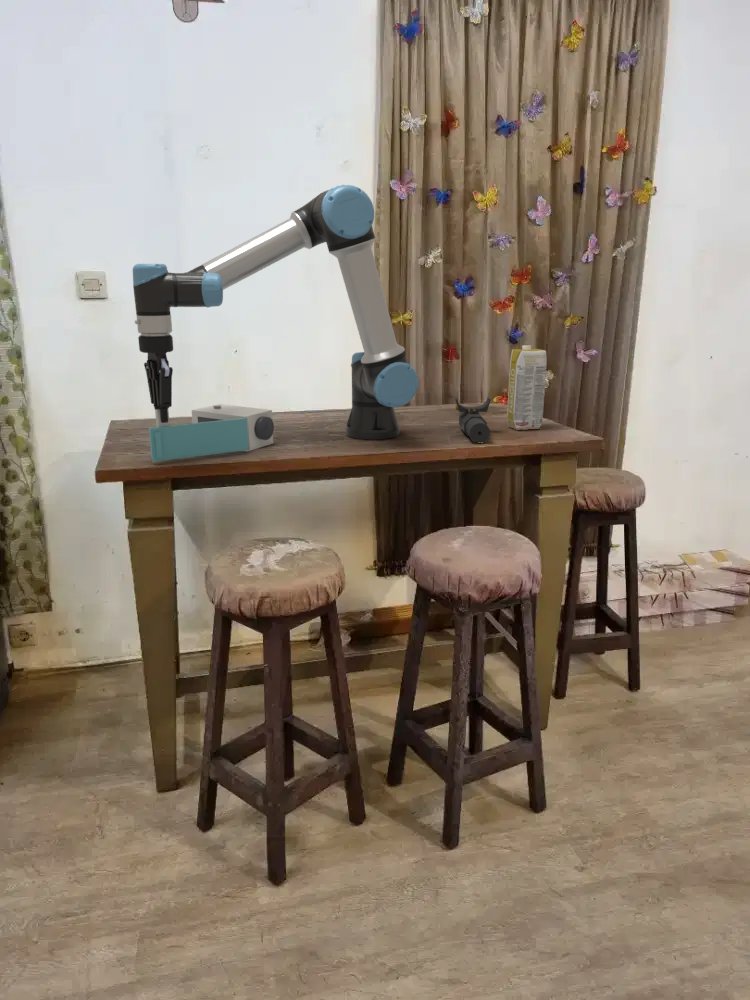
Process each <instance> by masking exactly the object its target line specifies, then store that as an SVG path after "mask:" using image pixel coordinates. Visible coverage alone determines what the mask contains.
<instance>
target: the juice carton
mask: <svg viewBox="0 0 750 1000" xmlns="http://www.w3.org/2000/svg"><path fill="white" fill-rule="evenodd" d="M521 347H522V349H519V348H516V349H515V348H512V350H511V355H510V359H509V360H510V361H509V375H508V377H509V378H508V379H509V380H508V392H507V393H508V394H507V395H508V397H507V412H506V413H507V414H506V416H507V417H506V419H507V426H508V425H510V426H513V427H515V428H526V427H540V426H541V427H542V423H543V417H544V406H545V405H544V404H545V403H544V402H545V391H546V389H545V388H546V377H547V364H548V363H547V351H546V350H545V349H540V348H532V344H529V345H528V344H527V345H525V344H524V345H522V346H521Z"/></svg>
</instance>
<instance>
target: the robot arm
mask: <svg viewBox="0 0 750 1000" xmlns="http://www.w3.org/2000/svg"><path fill="white" fill-rule="evenodd" d="M374 218H375V207H374V205H373V201H372V200H371V198H370V197H369V195H368V194H367V192H365V191H364V190H363V189H361V188H360V187H358V186H355V185H350V184H341V185H336V186H334V187H332V188H330V189H328V190H324V191H322V192H320V193H319V194H318V195H316V196H314V197H313V198H312V199H311V200H310V201H308V202H307V203H305V204H304V205H303V206H301V207H300V208H298V209H295V210H294V211H292V212H291V213H290V217H289V218H288V219H286V220H284V221H282V222H281V223H278V224H277V225H275V226H273V227H270V228H269V229H267V230H265V231H263V232H261V233H259V234H258V235H256V236H254V237H251V238H250V239H248V240H246V241H244V242H242V243H240V244H238V245H236V246H234V247H233V248H231V249H229V250H227V251H225V252H223V253H222V254H219V255H218V256H215V257H213V258H211V259H210V260H208V261H206V262H204V263H202V264H201V265H199V266H195V268H193V269H191V270H189V271H187V272H169V271H168V267H167V265H166V264H164V263H135V265H134V266H133V267H132V285H133V295H134V304H135V305H134V306H135V313H136V315H135V316H136V319H135V320H134V324H135V325H137V333H138V334H140V335H139V336H138V338H137V339H138V347H139V348H138V349H139V352H141V353H143V354H144V353H145V354H147V360H146V362H144V363H143V366H144V370H145V374H146V378H147V385H148V391H149V397H150V403H151V404H152V405H153V409H154V411H155V422H156V423H155V424H156V427H161V426H171V424H170V412H169V409H170V408H171V407H172V405H173V403H172V398H173V396H172V394H173V393H172V386H173V384H172V383H173V382H172V381H173V380H172V378H173V373H174V371H173V370H174V369H173V367H171V366H170V363H169V360H168V357H167V353H170V352H171V353H172V352H173V351H174V341H173V336H172V335H171V334H170V333H172V332H173V326H172V325H173V323H172V314H171V308H211V307H213V308H214V307H220V306H221V305H222V304H223V300H224V290H225V289H228V288H229V287H232V286H233V285H236V284H238V283H239V282H241V281H243V280H245V279H247V278H248V277H250V276H252V275H254V274H256V273H258V272H259V271H262V270H263V269H266V268H267V267H270V266H271V265H273V264H275V263H277V262H280V261H281V260H282V259H285V258H287V257H289V256H291V255H292V254H295V253H296V252H298V251H300V250H302V249H304V248H305V249H308V250H311V249H313V248H314V247H316V246H318V245H321V244H325V243H326V245H327V250H328V253H329V254H331V255H332V256H334V257H335V258H336V259H337V260H338V265H339V268H340V273H341V275H342V279H343V283H344V286H345V289H346V293H347V297H348V299H349V303H350V307H351V310H352V311H351V312H352V314H353V317H354V322H355V324H356V327H357V331H358V335H359V338H360V341H361V345H362V349H363V351H360V352H358V351H357V352H355V353H353V354H352V356H351V364H350V367H351V410H350V413H349V415H348V418H347V422H346V426H345V435H346V436H347V437H349V438H354V439H358V440H386V439H387V438H388V439H392V438H397V437H398V436H399V435H400V424H399V421H398V417H397V415H396V411H395V410H396V409H395V408H400V407H403V406H405V405H407V404H409V403H410V402H411V401H412V400H413V399H414V397H415V396H416V394H417V391H418V389H419V382H420V381H419V376H418V373H417V372H416V369H415V368H414V367H413V366H412V365H411V364H409V361H408V356H407V354H406V353H407V352H406V350H405V347H404V346H402V345H401V344H398V342H397V339H396V336H395V331H394V327H393V323H392V319H391V316H390V313H389V309H388V305H387V302H386V297H385V294H384V291H383V286H382V283H381V279H380V276H379V272H378V268H377V264H376V259H375V257H374V254H373V250H372V248H373V247H372V246H373V245H374V243H375V240H376V237H375V233H374V227H373V223H374Z"/></svg>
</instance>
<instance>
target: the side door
mask: <svg viewBox="0 0 750 1000" xmlns="http://www.w3.org/2000/svg"><path fill="white" fill-rule="evenodd" d="M148 435H149V443H150V444H149V445H150V456H151V461H152V462H153V463H154V462H161V461H170V460H179V459H186V458H192V457H193V458H194V457H201V456H209V455H216V454H217V455H218V454H226V453H233V452H243V451H242V450H249V449H250V445H249V425H248V418H239V419H229V420H219V421H210V422H200V423H193V422H191V423H184V424H183V423H182V424H172V425H171V424H170V426H161V427H157V426H153V427H148Z"/></svg>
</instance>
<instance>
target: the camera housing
mask: <svg viewBox="0 0 750 1000" xmlns="http://www.w3.org/2000/svg"><path fill="white" fill-rule="evenodd" d="M239 418H248V425H249V445H250V449H249V450H242V451H241V452H245V453H247V452H250V451H253V450H257V449H261V448H263V447H266V446H270V445H273V444H274V429H275V426H274V420H273V410H272V409H265V408H257V407H249V406H248V407H247V406H241V405H240V406H239V405H233V404H232V405H230V404H222V403H218V404H215V405H209V406H204V407H201V408H196V409H192V410H191V420H192V421H191V423H200V422H210V421H219V420H229V419H239Z"/></svg>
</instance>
